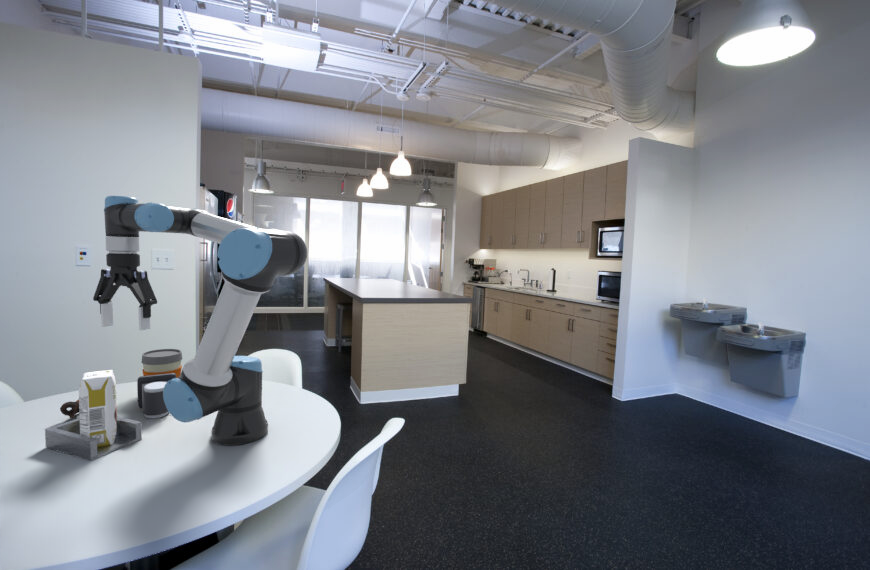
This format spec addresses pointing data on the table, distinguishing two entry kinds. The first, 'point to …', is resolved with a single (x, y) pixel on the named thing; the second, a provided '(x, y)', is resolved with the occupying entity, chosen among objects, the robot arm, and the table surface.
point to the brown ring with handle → (73, 411)
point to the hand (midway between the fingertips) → (125, 327)
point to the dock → (86, 447)
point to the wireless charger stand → (153, 394)
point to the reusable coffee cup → (162, 362)
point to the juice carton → (98, 406)
